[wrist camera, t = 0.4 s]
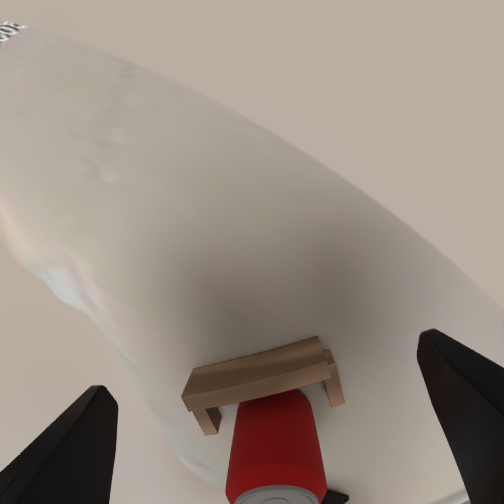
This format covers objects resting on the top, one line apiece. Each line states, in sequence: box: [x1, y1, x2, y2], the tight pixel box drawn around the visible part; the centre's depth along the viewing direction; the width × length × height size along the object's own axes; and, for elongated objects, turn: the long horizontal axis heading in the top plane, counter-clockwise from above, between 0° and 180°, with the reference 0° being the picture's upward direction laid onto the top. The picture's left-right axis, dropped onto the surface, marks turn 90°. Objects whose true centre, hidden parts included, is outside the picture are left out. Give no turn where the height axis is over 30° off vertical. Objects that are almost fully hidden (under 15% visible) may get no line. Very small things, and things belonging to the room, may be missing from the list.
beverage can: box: [225, 389, 327, 504], centre depth 20 cm, size 7×7×12 cm
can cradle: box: [181, 336, 345, 436], centre depth 24 cm, size 6×12×4 cm, turn 108°
